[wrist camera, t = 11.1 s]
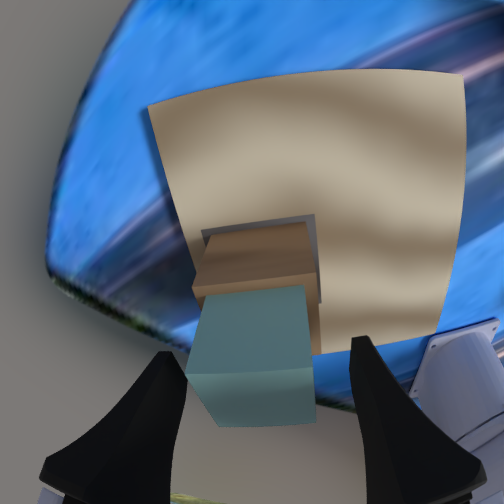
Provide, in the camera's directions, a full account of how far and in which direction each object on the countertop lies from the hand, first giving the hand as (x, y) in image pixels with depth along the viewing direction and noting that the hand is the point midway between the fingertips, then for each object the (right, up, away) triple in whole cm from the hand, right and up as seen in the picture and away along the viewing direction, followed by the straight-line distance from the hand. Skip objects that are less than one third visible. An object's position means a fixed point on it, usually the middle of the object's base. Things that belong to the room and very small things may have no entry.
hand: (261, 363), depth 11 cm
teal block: (0, +1, +2) cm, 2 cm away
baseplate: (+4, +5, +5) cm, 8 cm away
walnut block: (0, +3, +5) cm, 7 cm away
